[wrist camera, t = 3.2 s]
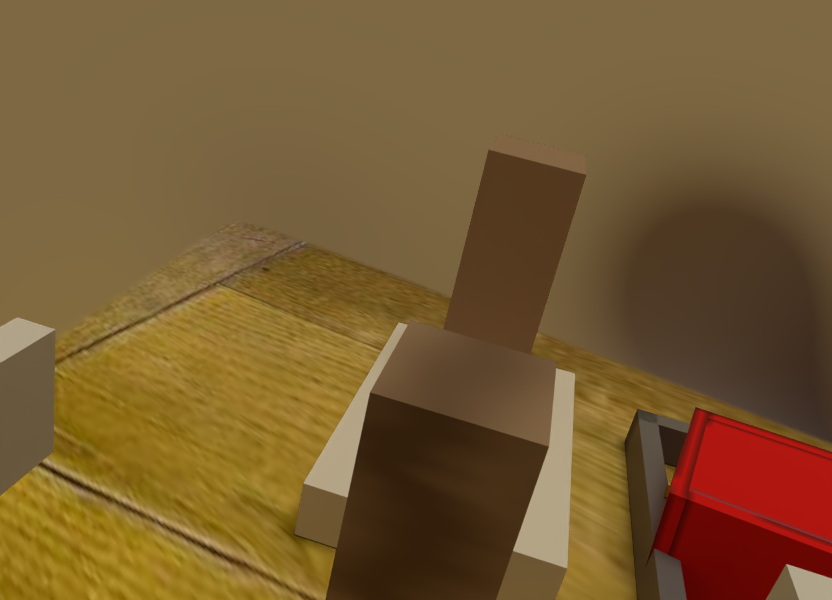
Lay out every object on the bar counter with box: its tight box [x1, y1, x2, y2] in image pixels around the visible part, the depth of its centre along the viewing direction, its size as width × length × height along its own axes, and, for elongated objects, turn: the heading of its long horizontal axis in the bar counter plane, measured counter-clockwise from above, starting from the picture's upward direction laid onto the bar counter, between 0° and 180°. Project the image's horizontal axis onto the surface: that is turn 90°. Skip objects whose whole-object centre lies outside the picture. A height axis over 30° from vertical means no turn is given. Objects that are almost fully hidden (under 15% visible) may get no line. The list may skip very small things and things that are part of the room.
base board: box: [294, 134, 587, 600], centre depth 38 cm, size 12×18×17 cm, turn 167°
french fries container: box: [645, 407, 832, 600], centre depth 36 cm, size 7×9×14 cm
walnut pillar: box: [326, 320, 557, 600], centre depth 25 cm, size 5×5×14 cm
